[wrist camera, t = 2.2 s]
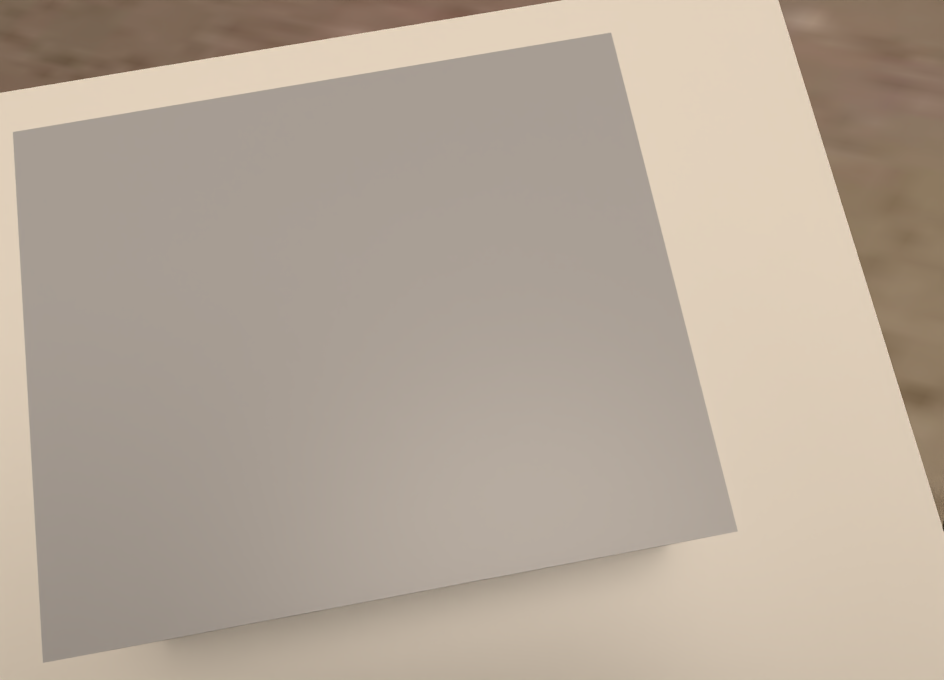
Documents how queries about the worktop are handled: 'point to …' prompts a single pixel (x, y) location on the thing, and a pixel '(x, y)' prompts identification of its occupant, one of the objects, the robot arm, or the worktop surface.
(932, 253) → the worktop surface
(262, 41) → the worktop surface
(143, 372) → the white tall post
